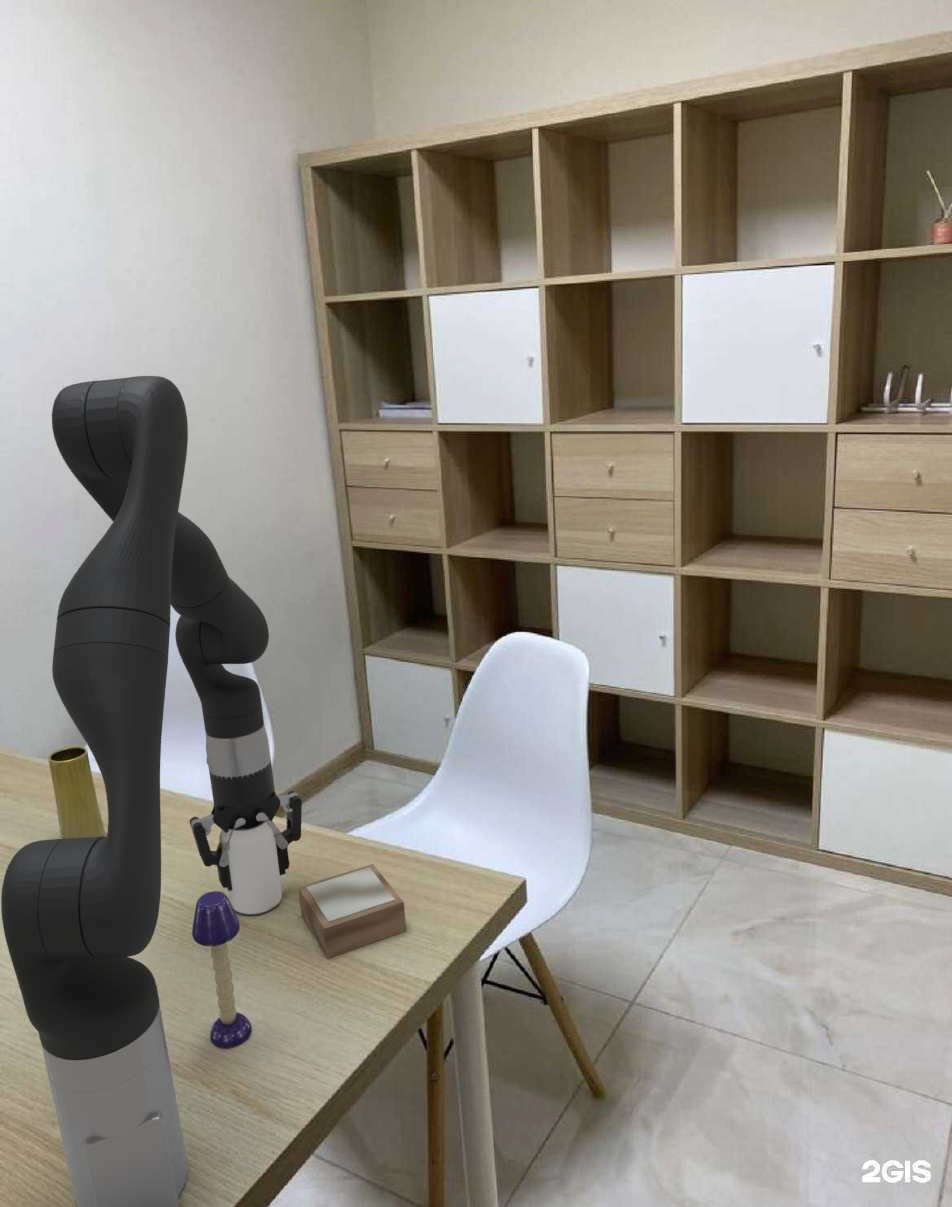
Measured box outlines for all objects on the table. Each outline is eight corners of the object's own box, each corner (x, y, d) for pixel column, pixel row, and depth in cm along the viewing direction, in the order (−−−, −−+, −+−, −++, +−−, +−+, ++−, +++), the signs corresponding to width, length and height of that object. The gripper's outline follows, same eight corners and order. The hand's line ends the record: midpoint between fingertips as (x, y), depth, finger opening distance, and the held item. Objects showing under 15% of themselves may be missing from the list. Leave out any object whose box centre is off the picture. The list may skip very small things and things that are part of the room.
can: (221, 909, 123) (208, 825, 120) (254, 883, 129) (243, 802, 125) (260, 921, 120) (248, 836, 117) (292, 894, 126) (282, 811, 122)
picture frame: (406, 930, 117) (403, 900, 116) (327, 958, 112) (324, 927, 111) (375, 890, 125) (372, 862, 124) (301, 915, 121) (298, 885, 120)
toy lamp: (264, 1030, 101) (244, 892, 97) (230, 1058, 98) (208, 916, 93) (232, 1014, 104) (212, 879, 99) (198, 1041, 100) (176, 902, 96)
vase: (61, 838, 143) (44, 750, 139) (104, 827, 145) (89, 741, 141) (63, 857, 138) (45, 766, 134) (108, 846, 140) (92, 756, 136)
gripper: (186, 787, 112) (206, 912, 117) (305, 757, 119) (318, 876, 123) (174, 764, 119) (193, 882, 124) (287, 736, 125) (300, 850, 130)
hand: (255, 879), depth 124 cm, fingers closed on can, 6 cm apart
